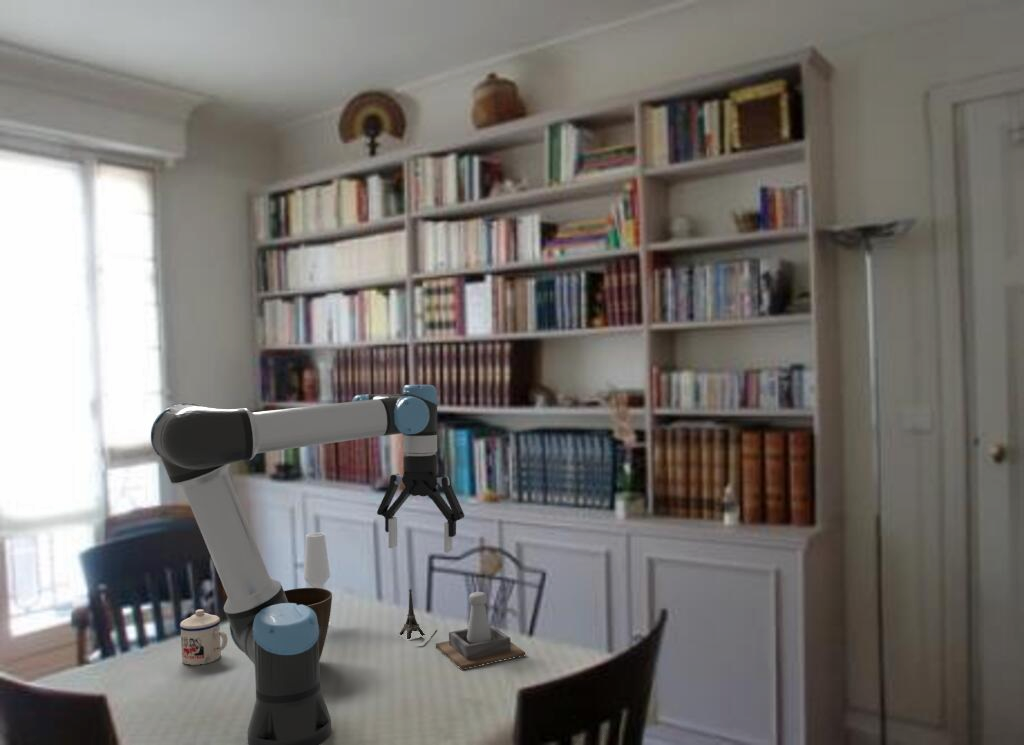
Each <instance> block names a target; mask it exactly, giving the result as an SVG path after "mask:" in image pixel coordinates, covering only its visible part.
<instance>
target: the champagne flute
mask: <svg viewBox="0 0 1024 745" xmlns="http://www.w3.org/2000/svg"><path fill="white" fill-rule="evenodd" d="M325 534H326V533H324V532H312V533H307V534H306V535H305V549H304V550H305V551H304V565H303V566H304V567H303V569H304V570H303V579H304V581H305V582H306V583H307V584H308V585H309V586H310V588H322V587H324V586H325V584H326V583H327V582H328V580H329V578H330V576H331V574H330V566H329V558H328V556H329V555H328V550H327V549H328V548H327V542H326V541H327V540H326V536H325ZM331 623H332V622H331V621H330V620H329V625H330V624H331ZM329 625H328V627H330V626H331V625H332V624H331V625H330V626H329Z"/></svg>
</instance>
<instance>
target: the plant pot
mask: <svg viewBox="0 0 1024 745" xmlns="http://www.w3.org/2000/svg"><path fill="white" fill-rule="evenodd" d="M284 593H285V595H286V598H287V600H288V603H296V604H297V605H301V604H302V605H305V606H307V607H309V608H311V609H312V610H313V611H314V612H315V614H316V616H317V622H318V626H319V662H320V660H321V658H322V654H323V650H324V647H325V643H326V639H327V635H328V629H329V626H328V625H329V621H330V618H331V611H332V600H333V592H332V591H331V590H329V589H327V588H326V589H325V588H322V587H321V588H313V587H300V588H292V589H286V590H284Z"/></svg>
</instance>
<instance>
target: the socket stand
mask: <svg viewBox="0 0 1024 745" xmlns="http://www.w3.org/2000/svg"><path fill="white" fill-rule="evenodd" d="M489 628H490V632H491V637H492V638H491V640H489V641H484V642H479V643H474V644H469V643H468V640H467V633H468V628H466V629H465V628H464V629H460V630H459V629H458V630H454V631H450V632H448V641H442V642H437V643H435V648H436V649H437V648H438V649H439V650H440V651H441V652H442V653H441V652H440V651H439V650H438V649H437V650H438V651H439V652H440V653H441V654H443V656H445V655H446V656H447V657H448V658H449V659H450V660H449V659H448V658H447V657H446V656H445V657H446V658H447V659H448V660H449V661H450V662H452V661H453V662H454V663H455V664H456V665H457V666H459V667H460V668H461V669H464V670H466V669H465V668H469V667H473V668H475V667H474V666H478V667H480V666H479V665H482V664H487V663H491V662H495V661H499V660H504V659H509V658H513V657H519V656H524V655H525V656H526V652H525V650H523V649H521V647H519V646H517V645H516V644H515V643H513V642H511V637H510V636H508V635H507V634H506V633H504V632H503V631H501V630H500V629H499V628H497V627H496V626H494V625H492V624H490V623H489ZM525 656H524V657H525ZM453 662H452V663H453ZM454 663H453V664H454ZM455 664H454V665H455ZM456 665H455V666H456ZM487 665H488V664H487ZM457 666H456V667H457ZM460 668H459V669H460ZM461 669H460V670H461ZM469 669H470V668H469Z"/></svg>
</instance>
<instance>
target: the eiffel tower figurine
mask: <svg viewBox="0 0 1024 745" xmlns="http://www.w3.org/2000/svg"><path fill="white" fill-rule="evenodd" d="M408 592H409V594H408V596H409V597H408V598H409V599H408V613H407V619H406V622H405V623H404V625H403V628H402V629H401V631H400V632H399V633H398V634H400V635H402V634H404V633H407V639H410V638H411V633H412V631H418V632H420V634H421V635H422V636H423V635H425V634H424V633H423V631H422V630H421V629H420V628H421V627H420V624H419V623H418V622H417V619H416V615H415V613H414V604H413V596H412V595H413V594H412V592H413V591H412V589H411V588H409V589H408Z"/></svg>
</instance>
